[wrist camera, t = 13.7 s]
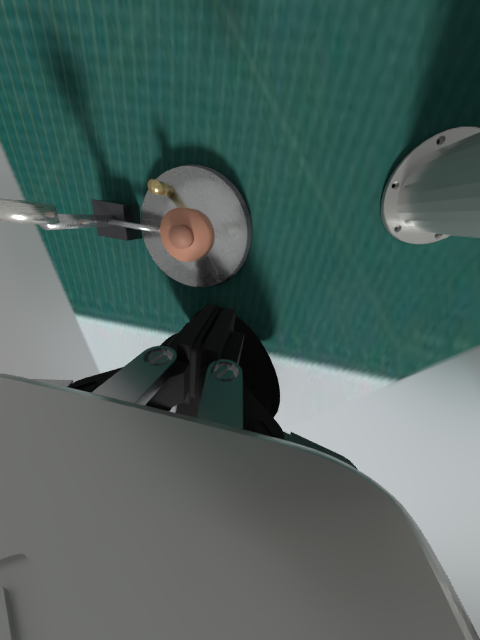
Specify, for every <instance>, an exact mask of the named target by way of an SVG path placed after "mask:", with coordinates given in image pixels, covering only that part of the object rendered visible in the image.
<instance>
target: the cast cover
mask: <svg viewBox="0 0 480 640" xmlns="http://www.w3.org/2000/svg"><path fill="white" fill-rule="evenodd" d="M160 236H161V240H162V243H163V245H164V247H165V249H166V250H167V251H168V253H169V254H170V255H171V256H173V257H174V258H176V259H177V260H180V261H183V262H192V261H195V260H197V259H199V258H201V257H203V256H204V255H206V254H207V253H208V252H209V251H210V250H211V248H212V247H213V244H214V239H215V233H214V228H213V225H212V223H211V221H210V220H209V218H208V217H207V216H206V215H205V214H204V213H202V212H201V211H199V210H196V209H190V208H174V209H172V210H170V211H169V212H167V213H166V214H165V216H164V217H163V219H162V221H161V225H160Z"/></svg>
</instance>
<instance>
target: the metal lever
mask: <svg viewBox="0 0 480 640" xmlns="http://www.w3.org/2000/svg"><path fill="white" fill-rule="evenodd" d="M91 200H92V199H91ZM92 205H93V210H94V215H86V214H57V210H56V206H55V205H51V204H45V203H39V202H31V201H23V200H13V199H2V198H0V221H5V222H13V223H25V224H39V226H40V227H41V228H43V229H45V230H56V229H74V228H92V227H97V231H98V235H100V236H105V237H111V238H116V239H122V240H134V239H140V238H142V233H141V230H143V231H149V232H155V233H160V228H159V227H154V226H148V225H143V224H141V222H140V212H139V206H135V205H129V204H123V203H118V202H112V201H102V200H92Z"/></svg>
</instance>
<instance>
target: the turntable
mask: <svg viewBox="0 0 480 640" xmlns="http://www.w3.org/2000/svg"><path fill="white" fill-rule="evenodd" d="M147 186H148V191H147V193H146V195H145V198H144V201H143V205H142V211H141V224H143V225H148V226H154V227H159V228H160V225H161V221H162V219H163V217H164V216H165V214H166V213H167V212H169V211H170V210H172V209H174V208H190V209H196V210H199V211H201V212H202V213H204V214H205V215H206V216H207V217H208V218H209V220H210V221H211V223H212V225H213V228H214V233H215V239H214V244H213V247H212V248H211V250H210V251H209V252H208V253H207V254H206V255H204V256H203V257H201V258H199V259H197V260H195V261H192V262H183V261H180V260H177V259H176V258H174V257H173V256H171V255H170V254H169V253H168V251H167V250H166V249H165V247H164V245H163V243H162V240H161V236H160V233H155V232H149V231H143V230H142V234H143V238H144V241H145V244H146V247H147V249H148V251H149V253H150V255H151V256H152V258H153V260H154V261H155V262H156V264H157V265H158V266H159V267H160V268H161V269H162V270H163V271H164V272H165V273H166V274H167V275H168V276H170V277H171V278H173V279H174V280H176V281H178V282H180V283H182V284H185V285H189V286H194V287H208V286H212V285H215V284H218V283H220V282H222V281H224V280H225V279H227V278H228V277H229V276H230V275H231V274H232V273H233V272H234V271H235V270H236V268H237V267H238V266H239V264H240V262H241V261H242V259H243V257H244V254H245V251H246V247H247V242H248V224H247V219H246V214H245V211H244V209H243V206H242V204H241V202H240V200H239V198H238V197H237V195H236V194H235V192H234V191H233V190H232V188H231V187H230V186H229V185H228V184H227V183H226V182H225V181H223V180H222V179H221V178H220V177H218V176H217V175H215V174H214V173H212V172H210V171H208V170H205V169H202V168H199V167H193V166H181V167H176V168H173V169H170V170H168V171H166V172H165V173H163V174H162V175H160V176H159V177H158V178H157V179H156V180H155V179H150V180H149V181H148V184H147Z"/></svg>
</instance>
